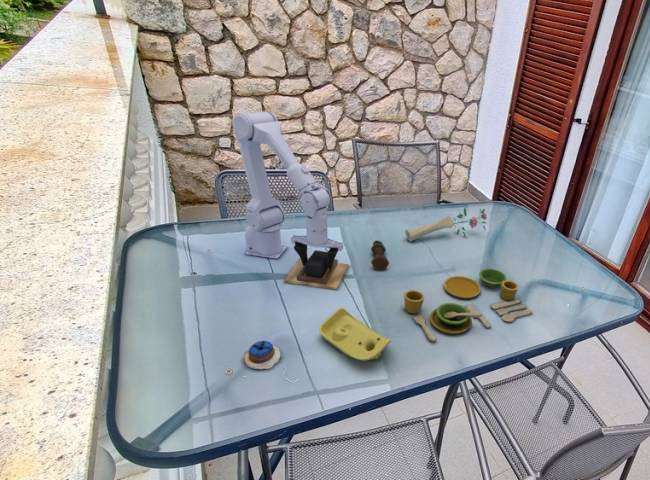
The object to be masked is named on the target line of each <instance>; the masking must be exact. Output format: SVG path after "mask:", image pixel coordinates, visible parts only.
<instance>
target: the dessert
mask: <svg viewBox="0 0 650 480" xmlns="http://www.w3.org/2000/svg"><path fill="white" fill-rule="evenodd" d="M280 359H281V352H280V348H279V347H277V346H276V345H273V344H272V343H271V342H270V341H268V340H260V341H257V342H254V343H253V344H252V345H250V346H249V349H248V352H246V353H245V355H244V363H245V365H246V366H247V367H248V368H251V369H254V370H269V369H272V368H273V367H274V365H275V364H277V363H279V360H280Z"/></svg>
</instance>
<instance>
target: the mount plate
mask: <svg viewBox="0 0 650 480" xmlns="http://www.w3.org/2000/svg"><path fill="white" fill-rule="evenodd" d="M310 257H311V255H310V256H309V257H307V258H308V260H309V258H310ZM348 268H349V264H348V263H342V262H339V260H338V259H337V258H335V259H334V263H333V267H332V269H331V270H330V269H329V268H328V269H327V271H326V273H325V274H324V276H323V278H316V277H309V276H306V268H305V266H303V264H302V261H301V258H300V257H299V259H298V260H297V262H296V264H295V265H294V266H293V268H292V269H291V270H290V271H289V273H288V275H287V276H286V277H285V279H284V283H287V284H293V285H301V286H308V287H314V288H321V289H328V290H338V288H339V286H340V284H341V282H342V280H343V278H344V276H345V274H346V273H347V270H348Z"/></svg>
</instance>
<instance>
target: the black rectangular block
mask: <svg viewBox="0 0 650 480" xmlns="http://www.w3.org/2000/svg"><path fill="white" fill-rule="evenodd" d="M327 253H328V251H322V250H317V249H315V250H314V251H313V252H312V254H311V255H310V256H311V257H310V256H309V257H308V258H309V260H308V261H307V263H306V264H305V268H306V276H309V277H316V278H323V276H324V274H325V273H326V271H327V269H328V268H329V267H328V266H329V259H328V254H327Z"/></svg>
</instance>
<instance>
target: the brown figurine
mask: <svg viewBox="0 0 650 480" xmlns="http://www.w3.org/2000/svg"><path fill="white" fill-rule="evenodd" d="M386 250H387V249H386V246H385V245H384V243H383V242H382V241H381V240H374V241H373V242H372V246H371V247H370V251H371V252H372V254H373V256H374V257H373V258H372V260H371V262H370V263H371V265H372V267H373V269H374V270H375V271H384V270H385V271H386V269H387V268H388V266H389V265H390V261H389V260H388V258H387V256H386V255H385V252H386Z"/></svg>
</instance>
